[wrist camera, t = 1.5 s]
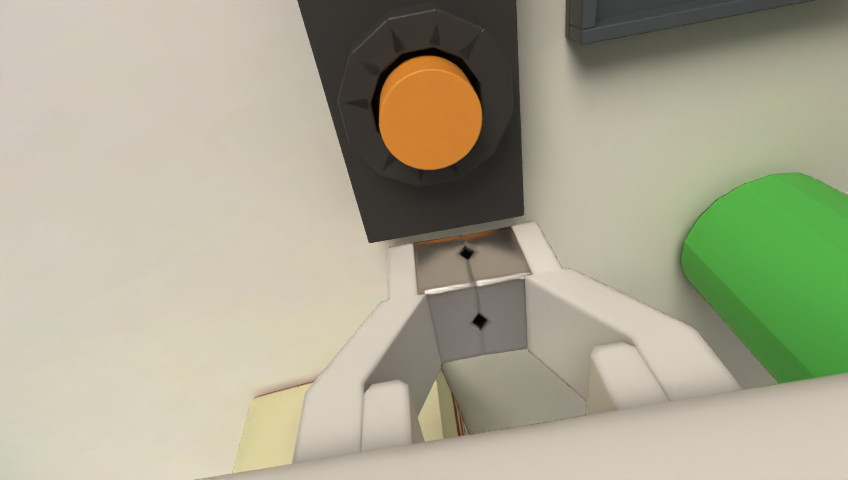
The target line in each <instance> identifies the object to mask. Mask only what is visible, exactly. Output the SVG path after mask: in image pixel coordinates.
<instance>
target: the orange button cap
mask: <svg viewBox="0 0 848 480" xmlns="http://www.w3.org/2000/svg"><path fill="white" fill-rule="evenodd" d="M379 127H380V132H381V136H382V139H383V141H384V143H385V145H386V147H387V148H388V150H389V151H390V152H391V153H392V155H394V156H395V157H396V158H397V159H398V160H400V161H401V162H402V163H404V164H406V165H408V166H411V167H413V168H417V169H423V170H435V169H441V168H445V167H448V166H450V165H452V164H454V163H456V162H458V161H459V160H461V159H462V158H463V157H464V156H465V155H467V153H468V152H469V151H470V150H471V149H472V147H473V146H474V145H475V143H476V141H477V139H478V137H479V134H480V131H481V127H482V108H481V104H480V101H479V98H478V96H477V94H476V92H475V91H474V89H473V87H472V85H471V84H470V82H469V80H468V79H467V77H466V75H465V74H464V73H463V71H462V70H461V69H460V68H459V67H458V66H457V65H455V64H454V63H452V62H451V61H449V60H447V59H445V58H442V57H439V56H433V55H423V56H417V57H413V58H411V59H408V60H406V61H404V62H403V63H401V64H400V65H398V66H397V67H396V68H395V69H394V70H393V71H392V72H391V73H390V74H389V76H388V77H387V79H386V81H385V83H384V85H383V87H382V91H381V95H380V108H379Z"/></svg>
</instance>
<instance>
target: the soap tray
mask: <svg viewBox="0 0 848 480" xmlns="http://www.w3.org/2000/svg"><path fill="white" fill-rule="evenodd" d="M809 1H814V0H566V37H568V38H570V39H572V40H573V41H575V42H577V43H579V44H581V45H584V44H590V43H595V42H600V41H605V40H610V39H616V38H621V37H626V36H631V35H637V34H642V33H647V32H652V31H657V30H663V29H668V28H673V27H678V26H684V25H689V24H694V23H699V22H705V21H710V20H715V19H720V18H725V17H731V16H736V15H741V14H746V13H752V12H757V11H762V10H767V9H773V8H778V7H783V6H788V5H793V4H799V3H804V2H809Z"/></svg>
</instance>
